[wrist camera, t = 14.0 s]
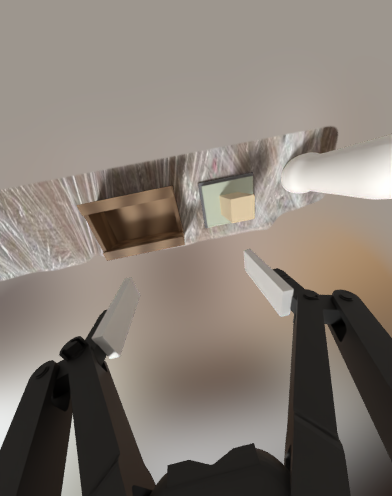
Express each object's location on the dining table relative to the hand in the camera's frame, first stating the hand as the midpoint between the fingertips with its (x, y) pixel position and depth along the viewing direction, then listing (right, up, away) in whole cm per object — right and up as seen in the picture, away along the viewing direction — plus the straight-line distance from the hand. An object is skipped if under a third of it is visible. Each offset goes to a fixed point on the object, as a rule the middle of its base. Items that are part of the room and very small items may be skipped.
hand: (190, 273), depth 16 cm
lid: (+9, +14, +19) cm, 25 cm away
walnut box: (-13, +10, +19) cm, 25 cm away
